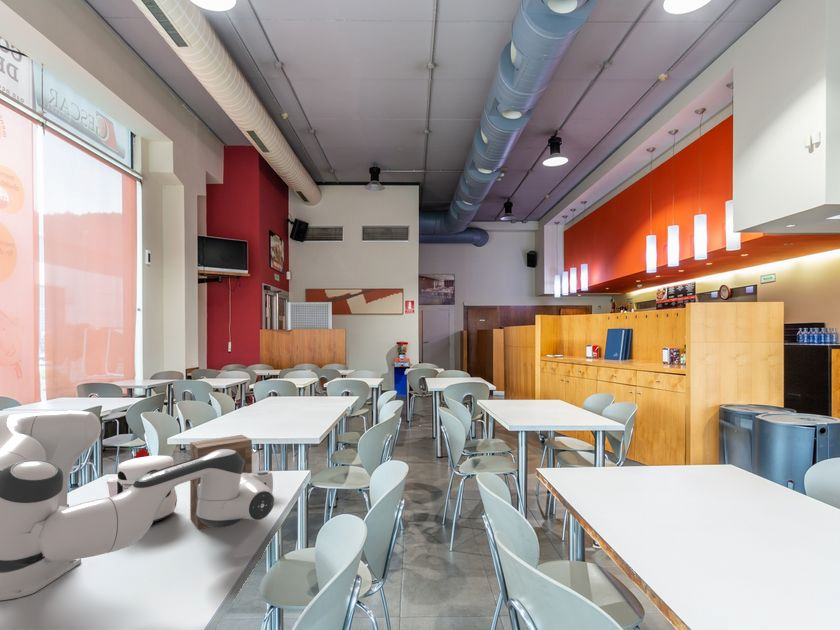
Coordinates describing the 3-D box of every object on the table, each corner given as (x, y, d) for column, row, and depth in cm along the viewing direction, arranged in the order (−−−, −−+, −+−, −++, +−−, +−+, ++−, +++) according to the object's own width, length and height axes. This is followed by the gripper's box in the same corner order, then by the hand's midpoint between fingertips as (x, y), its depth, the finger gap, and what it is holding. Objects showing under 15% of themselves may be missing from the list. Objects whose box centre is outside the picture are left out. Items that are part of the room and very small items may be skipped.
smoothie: (133, 503, 160) (133, 463, 161) (119, 511, 154) (119, 468, 154) (116, 503, 161) (116, 462, 161) (101, 510, 154) (101, 468, 155)
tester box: (252, 515, 148) (251, 439, 149) (198, 529, 138) (197, 448, 139) (242, 506, 156) (241, 434, 157) (190, 519, 146) (190, 442, 147)
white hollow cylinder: (238, 492, 170) (238, 451, 170) (258, 489, 173) (258, 449, 173) (239, 498, 163) (239, 455, 164) (260, 495, 166) (260, 453, 167)
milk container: (172, 504, 159) (172, 451, 160) (181, 520, 145) (181, 462, 146) (111, 517, 149) (112, 460, 149) (115, 535, 135) (115, 473, 135)
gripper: (203, 510, 124) (191, 496, 135) (277, 493, 137) (261, 481, 148) (203, 486, 124) (191, 474, 135) (277, 471, 137) (261, 461, 148)
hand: (228, 478), depth 141 cm, fingers closed, pressing on terracotta plug
